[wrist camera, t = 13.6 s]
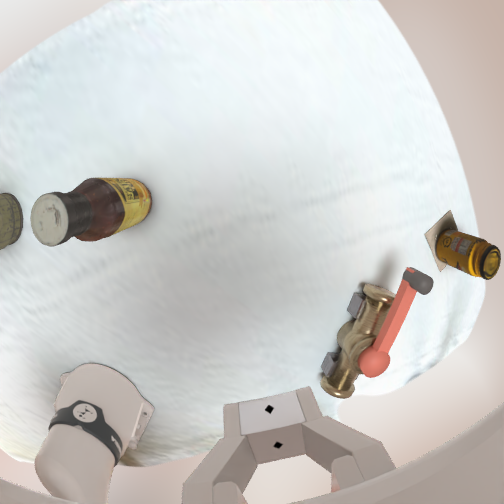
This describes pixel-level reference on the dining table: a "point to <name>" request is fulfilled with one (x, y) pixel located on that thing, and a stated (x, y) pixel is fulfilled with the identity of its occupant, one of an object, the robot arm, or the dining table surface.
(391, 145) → the dining table surface
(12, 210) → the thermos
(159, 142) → the dining table surface
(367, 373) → the lever
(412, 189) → the dining table surface
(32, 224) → the sauce bottle
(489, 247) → the condiment
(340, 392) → the valve body
